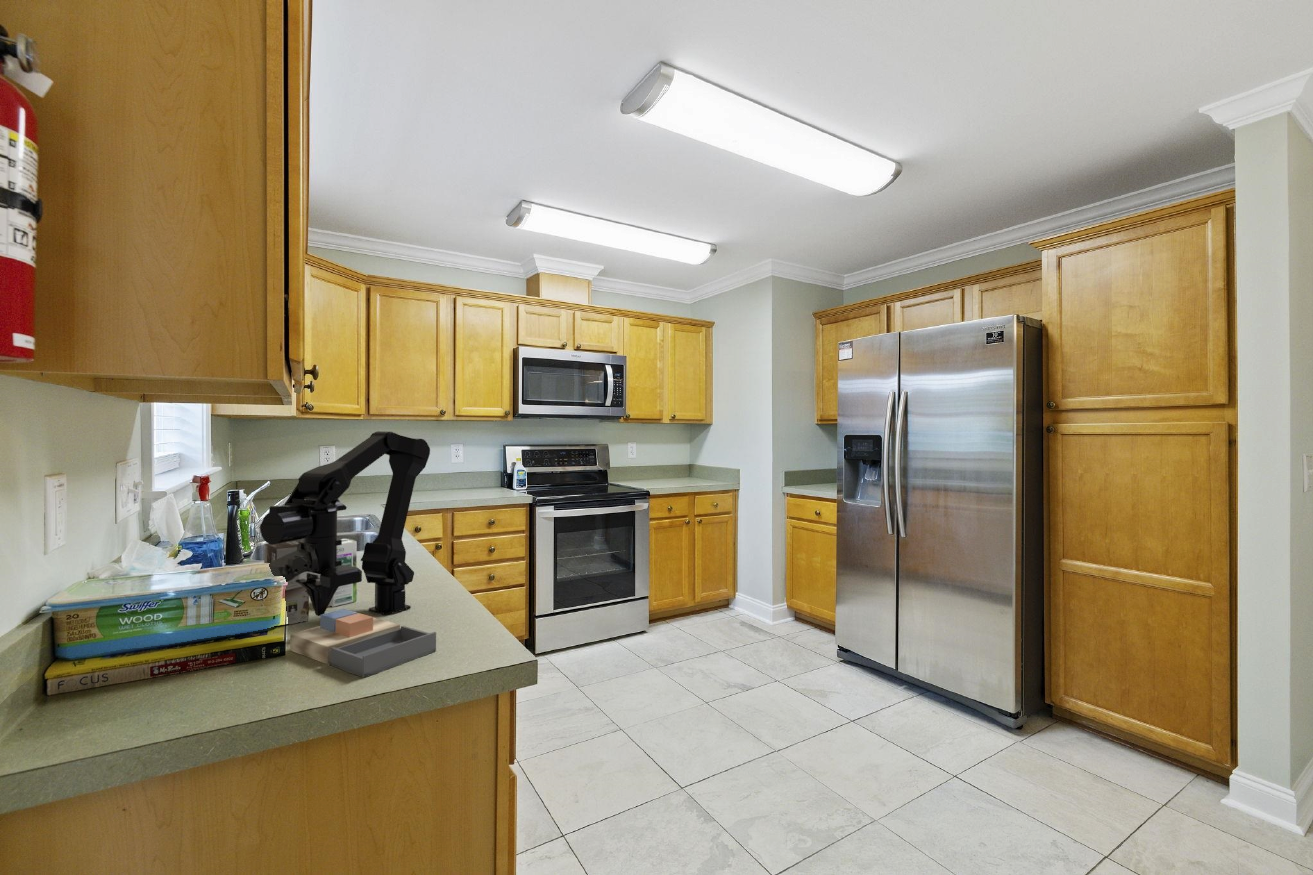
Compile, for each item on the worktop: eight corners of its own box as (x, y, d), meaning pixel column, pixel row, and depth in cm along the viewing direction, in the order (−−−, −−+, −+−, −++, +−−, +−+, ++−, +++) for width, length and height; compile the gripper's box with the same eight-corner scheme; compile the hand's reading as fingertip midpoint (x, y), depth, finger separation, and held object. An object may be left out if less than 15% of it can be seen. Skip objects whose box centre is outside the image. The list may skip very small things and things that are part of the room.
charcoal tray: (329, 664, 101) (329, 644, 101) (401, 640, 113) (401, 622, 113) (364, 677, 96) (364, 656, 96) (436, 651, 108) (436, 632, 108)
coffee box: (310, 620, 124) (311, 544, 124) (275, 628, 120) (275, 548, 120) (296, 611, 131) (297, 538, 131) (262, 618, 126) (263, 542, 126)
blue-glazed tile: (320, 627, 111) (320, 614, 111) (343, 621, 115) (343, 608, 115) (333, 632, 109) (334, 618, 109) (357, 625, 113) (357, 612, 113)
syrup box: (332, 607, 134) (333, 543, 134) (318, 603, 137) (319, 541, 137) (357, 601, 139) (357, 540, 139) (343, 597, 142) (343, 537, 142)
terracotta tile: (335, 632, 109) (335, 619, 109) (358, 626, 112) (358, 613, 112) (349, 637, 106) (349, 623, 106) (373, 630, 110) (373, 617, 110)
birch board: (290, 650, 108) (290, 633, 108) (362, 629, 120) (362, 614, 120) (327, 664, 102) (327, 646, 102) (399, 640, 114) (399, 624, 114)
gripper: (250, 536, 113) (250, 617, 113) (304, 547, 103) (303, 636, 104) (310, 528, 123) (309, 603, 123) (364, 538, 113) (363, 619, 113)
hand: (319, 615), depth 115 cm, fingers closed
